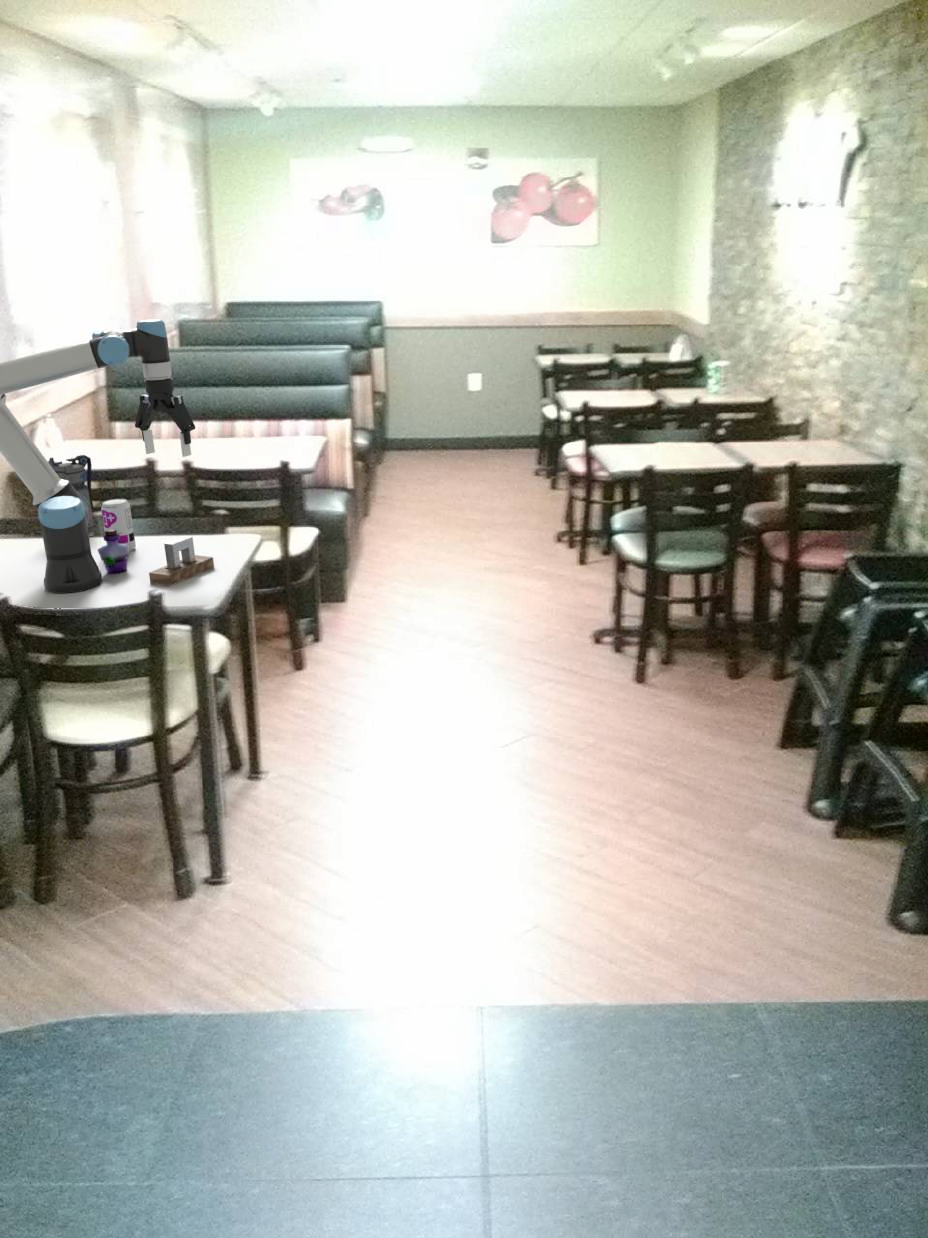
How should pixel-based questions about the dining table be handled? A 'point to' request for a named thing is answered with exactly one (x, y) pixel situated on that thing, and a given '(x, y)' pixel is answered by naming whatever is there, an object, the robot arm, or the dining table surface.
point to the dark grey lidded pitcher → (77, 478)
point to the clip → (173, 550)
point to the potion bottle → (114, 553)
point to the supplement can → (119, 520)
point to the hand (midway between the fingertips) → (168, 454)
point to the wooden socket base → (181, 571)
